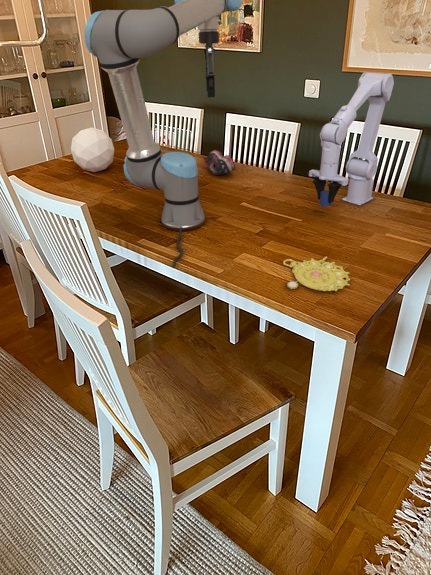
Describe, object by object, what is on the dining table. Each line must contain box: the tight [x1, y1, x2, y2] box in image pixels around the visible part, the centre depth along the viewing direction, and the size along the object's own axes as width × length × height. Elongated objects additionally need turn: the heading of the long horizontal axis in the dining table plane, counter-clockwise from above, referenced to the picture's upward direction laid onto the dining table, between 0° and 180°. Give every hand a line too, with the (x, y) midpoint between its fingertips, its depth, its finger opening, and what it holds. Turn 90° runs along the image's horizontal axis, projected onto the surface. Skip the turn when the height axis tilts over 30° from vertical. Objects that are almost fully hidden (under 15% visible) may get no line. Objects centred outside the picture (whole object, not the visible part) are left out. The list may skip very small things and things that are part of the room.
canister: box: [318, 189, 332, 207], centre depth 153 cm, size 4×4×4 cm
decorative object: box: [282, 255, 351, 292], centre depth 122 cm, size 21×2×20 cm
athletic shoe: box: [201, 149, 237, 176], centre depth 198 cm, size 11×22×12 cm
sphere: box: [70, 126, 115, 173], centre depth 204 cm, size 19×20×20 cm
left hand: (210, 94), depth 171 cm, fingers open, 13 cm apart
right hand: (325, 200), depth 154 cm, fingers closed on canister, 4 cm apart
